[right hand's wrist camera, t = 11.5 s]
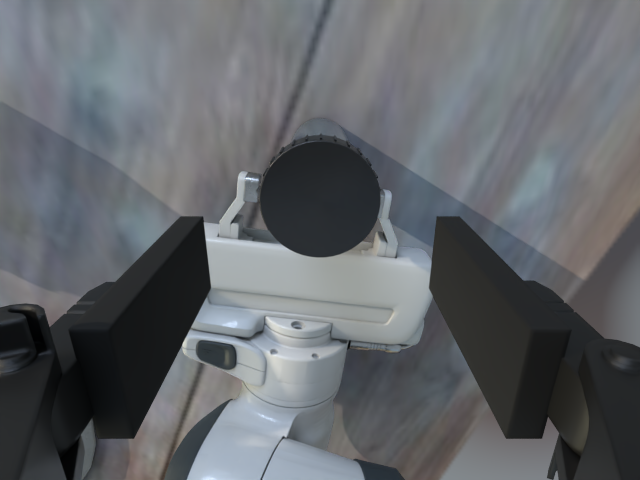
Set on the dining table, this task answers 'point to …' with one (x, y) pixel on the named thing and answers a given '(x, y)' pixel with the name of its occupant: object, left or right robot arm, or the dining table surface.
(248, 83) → the dining table surface
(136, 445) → the dining table surface
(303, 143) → the lid
